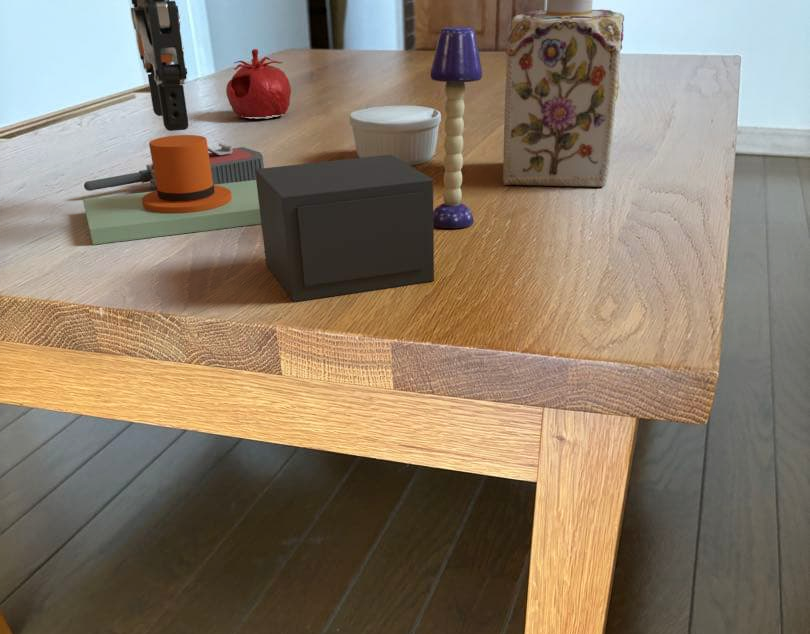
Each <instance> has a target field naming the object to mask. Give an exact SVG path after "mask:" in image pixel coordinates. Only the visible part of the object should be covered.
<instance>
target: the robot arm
mask: <svg viewBox="0 0 810 634" xmlns="http://www.w3.org/2000/svg"><path fill="white" fill-rule="evenodd" d="M131 5H133V7H130V17H131V21H132V26H133V28H134V30H135V39H136V45H137V49H138V53H139V57H140V60H141V61H142V67H143V69H144V71H145V73H146V74H147V80H148V87H149V91H150V99H151V105H152V111H153V114H155V115H156V116H159V117H162V122H163V127H164V128H165V130H167V131H170V132H175V131H185V130H187V129H188V128H189V118H188V112H187V111H188V110H187V103H186V97H185V89H184V85H185V83H186V82H185V80H187V75H188V68H187V67H186V62H185V57H184V56H185V54H184V53H185V49H184V44H183V38H182V34H181V17H180V12H179V6H178V5H177V3H176V0H131Z"/></svg>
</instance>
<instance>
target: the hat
mask: <svg viewBox="0 0 810 634" xmlns="http://www.w3.org/2000/svg"><path fill="white" fill-rule="evenodd" d="M148 146H149V151H150V158H151V164H153V169H154V174H155V179H156V185H157V188H156V190H153V192H152V191H149V192H150V193H148V194H146V195H145V196H143V198H142V203H143V207H144V208H145V209H147V210H150V211H154V212H160V213H190V212H199V211H205V210H209V209H214V208H217V207H220V206H223V205H225V204H227V203H228V202H230V201H231V199H232V195H231V191H230V190H229V189H227V188H225V187H221V186H216V185H214V184H213V180H212V173H211V167H210V160H209V153H210V152H209V151H208V147H209V146H208V141H207V138H206V137H205V136H202V135H197V134H178V135H177V134H176V135H167V136H161V137H157V138H153V139H152V140H150V141H149V142H148Z"/></svg>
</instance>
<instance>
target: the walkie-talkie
mask: <svg viewBox="0 0 810 634" xmlns="http://www.w3.org/2000/svg"><path fill="white" fill-rule="evenodd" d="M218 147H221V148H218V149H213V148H211V147H209V146H208V153H209V160H210V167H211V173H212V180H213V184H214V185H215V184H224V183H233V182H242V181H251V180H256V175H255V169H262V168H265V165H264V156H263V154H262V152H260V151H257V150H254V149H251V148H247V147H245V146H240V147H234V148H233V146H232V145H229V144H226V143H223V142H220V143H218ZM145 165H146V169H142V170H139V171H138V172H132V173H125V174H121V175H115V176H109V177H105V178H98V179H93V180H88V181H85V182H84V184H83V188H84V190H86V191H88V192H90V191H91V192H92V191H97V190H103V189H108V188H115V187H121V186H125V185H132V184H137V183H142V184H144V183H149V184H150V186H151V188H156V189H157V185H156V179H155V174H154V169H153V163H148V164H145Z"/></svg>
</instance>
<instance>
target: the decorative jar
mask: <svg viewBox="0 0 810 634" xmlns="http://www.w3.org/2000/svg"><path fill="white" fill-rule="evenodd" d="M593 1H594V0H546V10H544V9H540V10H534V11H527V12H525V13H520V14H517V15H515V16H513V18H512V19H511V25H510V28H509V32H510V33H509V35H508V38H507V45H506V49H505V54H506V66H505V67H506V69H505V70H506V71H505V89H504V90H505V91H504V117H503V118H504V120H503V121H504V122H503V123H504V124H503V163H502V164H503V165H502V166H503V167H502V168H503V169H502V173H503V174H502V175H503V176H502V180H503V181H502V182H503V185H505V186H545V187H546V186H547V187H551V186H552V187H553V186H554V187H556V186H557V187H593V188H594V187H598V188H601V187H605V186H606V185H607V183H608V179H609V172H610V163H611V156H612V146H613V135H614V126H615V125H614V124H615V115H616V114H615V113H616V103H617V100H618V97H619V88H620V82H619V80H620V76H619V75H620V71H619V68H620V59H621V51H622V50H623V44H622V43H623V41H624V31H625V30H624V28H625V27H624V21H625V15H624V14H622V13H621V12H616V11H612V10H611V9H593Z"/></svg>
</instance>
